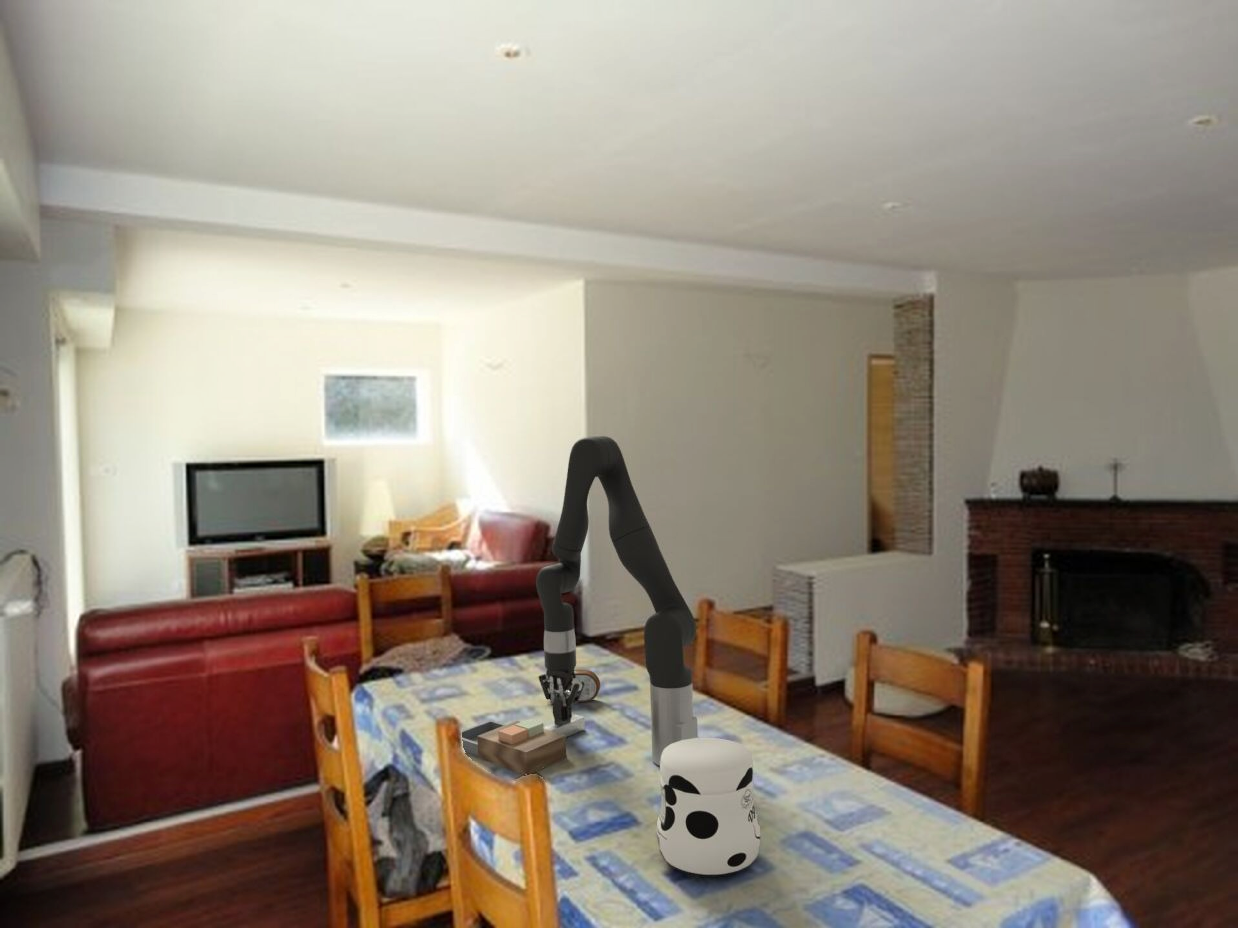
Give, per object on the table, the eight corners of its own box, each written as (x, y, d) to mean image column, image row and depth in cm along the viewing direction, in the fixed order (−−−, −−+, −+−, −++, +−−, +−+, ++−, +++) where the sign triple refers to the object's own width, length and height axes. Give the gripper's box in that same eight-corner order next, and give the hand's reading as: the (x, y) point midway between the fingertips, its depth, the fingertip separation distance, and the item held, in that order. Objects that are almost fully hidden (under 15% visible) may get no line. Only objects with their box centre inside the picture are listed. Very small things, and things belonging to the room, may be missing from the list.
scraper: (584, 728, 202) (583, 692, 202) (549, 744, 193) (548, 705, 193) (575, 726, 204) (574, 690, 204) (540, 741, 195) (539, 703, 195)
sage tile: (543, 731, 188) (543, 722, 188) (529, 737, 185) (528, 728, 184) (529, 727, 191) (529, 718, 191) (515, 733, 187) (515, 724, 187)
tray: (519, 740, 196) (518, 728, 196) (478, 757, 187) (477, 744, 187) (491, 731, 203) (491, 719, 203) (450, 747, 193) (449, 734, 193)
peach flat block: (527, 738, 184) (527, 729, 184) (512, 744, 181) (511, 735, 181) (513, 733, 187) (513, 725, 187) (498, 739, 184) (498, 730, 184)
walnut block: (566, 757, 185) (565, 735, 185) (526, 775, 176) (526, 752, 176) (517, 741, 196) (517, 720, 196) (478, 757, 187) (477, 735, 186)
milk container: (782, 859, 139) (780, 753, 138) (712, 900, 128) (709, 785, 127) (706, 824, 152) (703, 727, 151) (636, 858, 141) (633, 754, 140)
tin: (600, 699, 225) (599, 668, 225) (599, 703, 222) (598, 671, 222) (546, 699, 227) (545, 668, 226) (543, 702, 223) (542, 672, 223)
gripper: (592, 648, 196) (594, 720, 197) (550, 640, 205) (553, 709, 206) (570, 655, 190) (572, 730, 191) (528, 646, 199) (530, 717, 200)
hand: (562, 718), depth 198 cm, fingers closed on scraper, 2 cm apart
